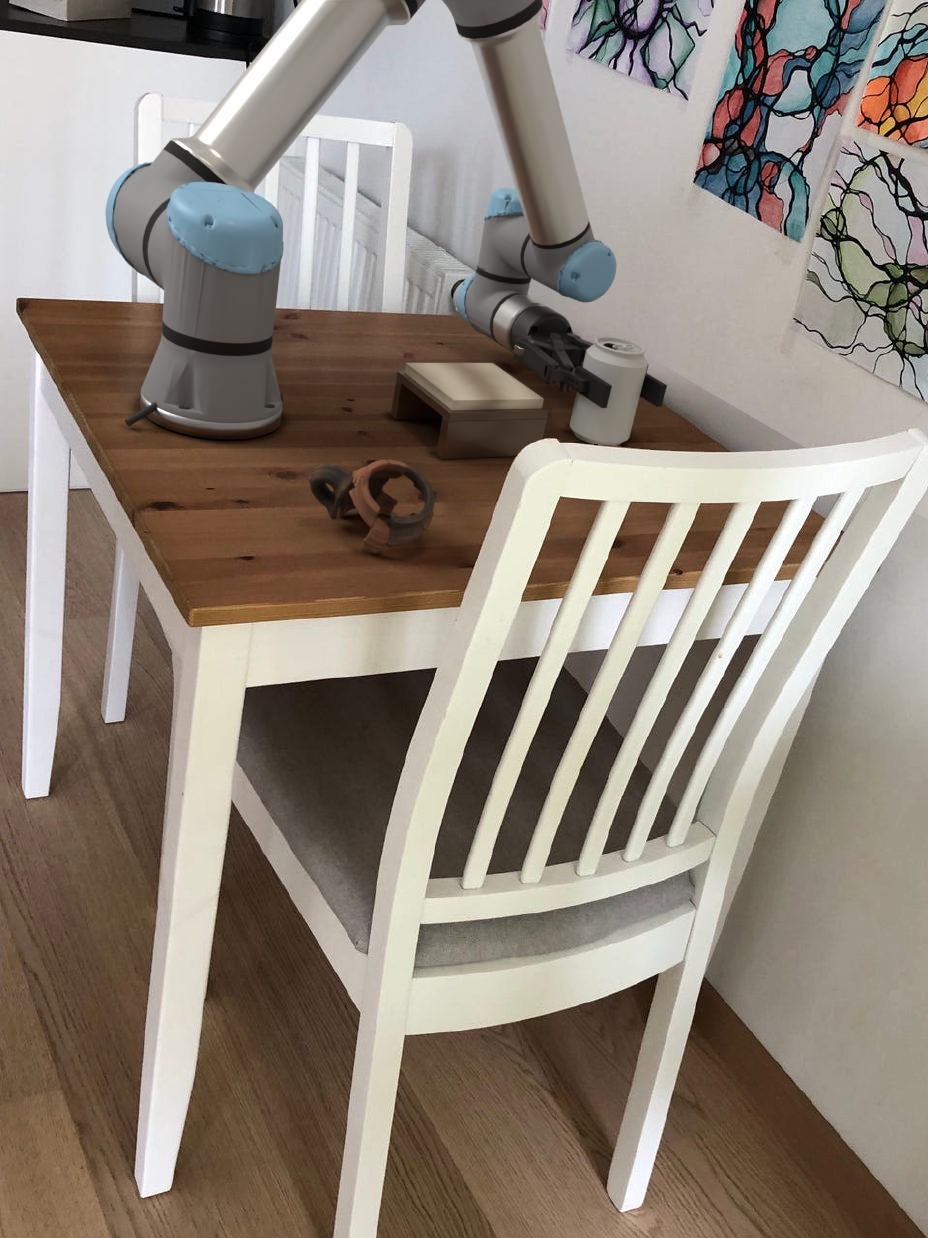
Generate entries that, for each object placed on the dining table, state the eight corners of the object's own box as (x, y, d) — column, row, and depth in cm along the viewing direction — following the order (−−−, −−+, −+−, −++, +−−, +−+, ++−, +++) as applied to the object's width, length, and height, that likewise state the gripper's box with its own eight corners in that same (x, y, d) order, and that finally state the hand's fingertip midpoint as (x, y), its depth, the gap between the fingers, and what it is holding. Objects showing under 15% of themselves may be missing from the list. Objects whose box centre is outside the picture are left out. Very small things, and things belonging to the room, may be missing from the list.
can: (570, 421, 156) (592, 328, 150) (629, 434, 155) (652, 341, 150) (565, 440, 149) (587, 344, 143) (625, 454, 149) (650, 358, 143)
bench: (441, 459, 137) (451, 402, 134) (390, 415, 146) (398, 360, 143) (539, 455, 143) (551, 400, 140) (484, 413, 153) (494, 360, 149)
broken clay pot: (418, 518, 123) (450, 469, 117) (401, 593, 118) (434, 546, 111) (304, 473, 120) (331, 421, 114) (282, 548, 115) (309, 497, 108)
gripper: (590, 360, 169) (692, 424, 152) (461, 360, 159) (556, 428, 142) (602, 306, 165) (709, 365, 148) (472, 302, 155) (570, 365, 138)
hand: (634, 396), depth 145 cm, fingers closed on can, 7 cm apart
